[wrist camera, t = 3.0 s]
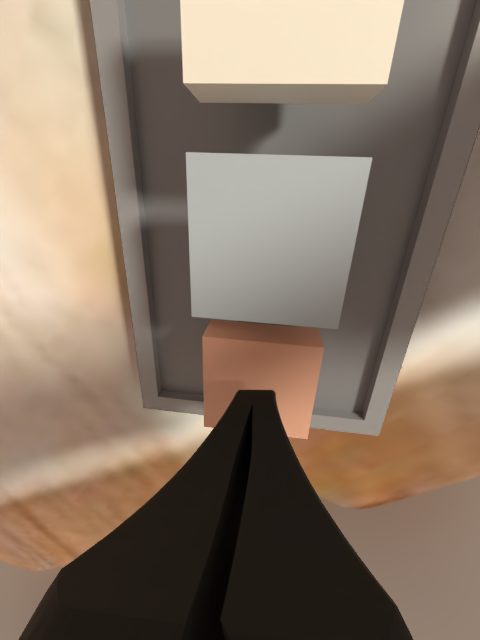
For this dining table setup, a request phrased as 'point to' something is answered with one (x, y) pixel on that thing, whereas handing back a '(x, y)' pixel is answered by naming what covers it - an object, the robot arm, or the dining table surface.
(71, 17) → the dining table surface
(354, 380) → the grey rectangular tray
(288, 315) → the key light grey
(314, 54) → the cream square block
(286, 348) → the tan small block
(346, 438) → the dining table surface
